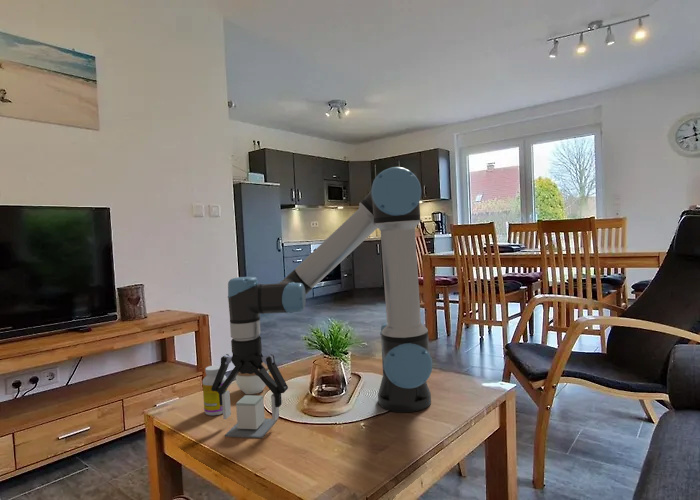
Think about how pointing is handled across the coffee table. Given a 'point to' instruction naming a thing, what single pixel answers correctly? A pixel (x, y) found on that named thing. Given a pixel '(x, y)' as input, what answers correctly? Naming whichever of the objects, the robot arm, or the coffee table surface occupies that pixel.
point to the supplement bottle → (211, 392)
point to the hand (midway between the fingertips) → (251, 417)
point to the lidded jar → (250, 382)
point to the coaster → (251, 430)
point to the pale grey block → (250, 412)
